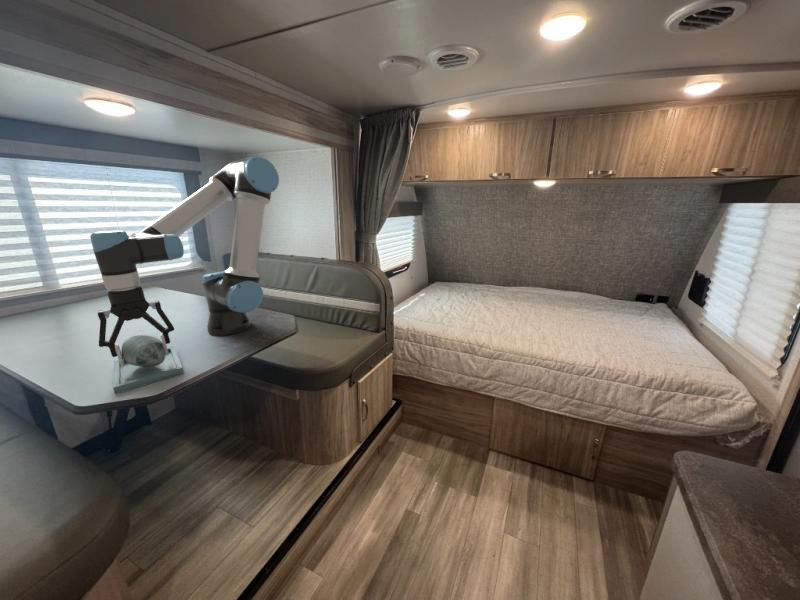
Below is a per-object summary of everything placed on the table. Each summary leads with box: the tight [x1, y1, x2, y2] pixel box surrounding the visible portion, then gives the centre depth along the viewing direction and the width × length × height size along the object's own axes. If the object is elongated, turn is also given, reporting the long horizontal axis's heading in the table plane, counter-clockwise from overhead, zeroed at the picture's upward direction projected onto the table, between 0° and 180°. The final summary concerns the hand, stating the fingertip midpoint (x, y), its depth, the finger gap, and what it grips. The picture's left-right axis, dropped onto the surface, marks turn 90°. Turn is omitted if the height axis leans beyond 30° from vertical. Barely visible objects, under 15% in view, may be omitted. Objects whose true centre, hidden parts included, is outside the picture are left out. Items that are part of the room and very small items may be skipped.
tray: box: [112, 345, 185, 395], centre depth 94 cm, size 15×19×2 cm
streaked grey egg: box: [120, 334, 166, 367], centre depth 93 cm, size 14×10×10 cm
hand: (145, 359), depth 93 cm, fingers closed on streaked grey egg, 10 cm apart
